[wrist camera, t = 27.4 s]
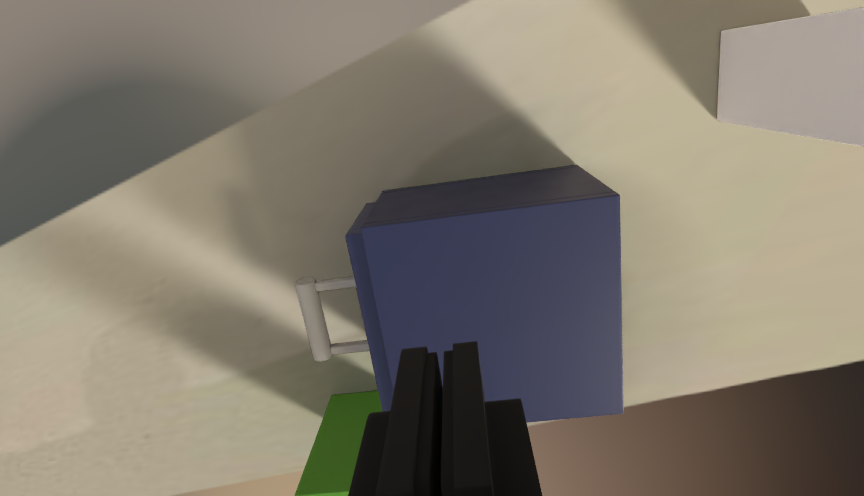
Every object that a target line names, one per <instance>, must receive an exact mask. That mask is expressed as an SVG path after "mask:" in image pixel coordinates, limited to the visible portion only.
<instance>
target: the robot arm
mask: <svg viewBox="0 0 864 496" xmlns="http://www.w3.org/2000/svg"><path fill="white" fill-rule="evenodd" d="M348 496H542V492H541V488H540V483H539V479H538V474H537V470H536V465H535V461H534V456H533V452H532V447H531V442H530V437H529V433H528V428H527V424H526V419H525V414H524V410H523V405H522V401H521V398H518V399H508V400H498V401H487V402H485V397H484V389H483V381H482V373H481V366H480V358H479V350H478V343H477V341H472V342H463V343H454V344H453V350H450V351H444V364H443V386H442V380H441V373H440V367H439V361H438V355H437V352H431V353H428V349H427V347H426V346H425V347H416V348H407V349H402V350H401V354H400V360H399V365H398V371H397V377H396V382H395V388H394V393H393V399H392V404H391V410H390V411H383V412H373V413H370V414H369V415H368V418H367V421H366V425H365V429H364V433H363V437H362V441H361V445H360V449H359V453H358V457H357V461H356V466H355V470H354V474H353V478H352V482H351V486H350V490H349V494H348Z"/></svg>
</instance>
